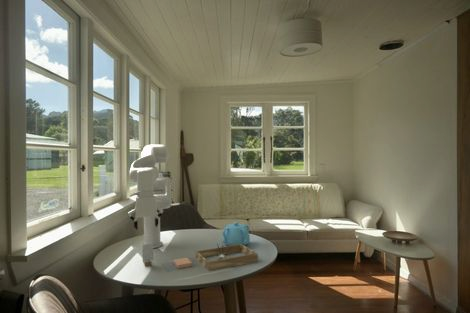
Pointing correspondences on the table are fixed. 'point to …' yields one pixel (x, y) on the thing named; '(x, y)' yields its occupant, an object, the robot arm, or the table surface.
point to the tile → (182, 263)
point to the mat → (171, 267)
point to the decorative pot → (236, 234)
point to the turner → (147, 254)
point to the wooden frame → (234, 261)
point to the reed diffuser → (221, 255)
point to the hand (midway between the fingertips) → (146, 227)
